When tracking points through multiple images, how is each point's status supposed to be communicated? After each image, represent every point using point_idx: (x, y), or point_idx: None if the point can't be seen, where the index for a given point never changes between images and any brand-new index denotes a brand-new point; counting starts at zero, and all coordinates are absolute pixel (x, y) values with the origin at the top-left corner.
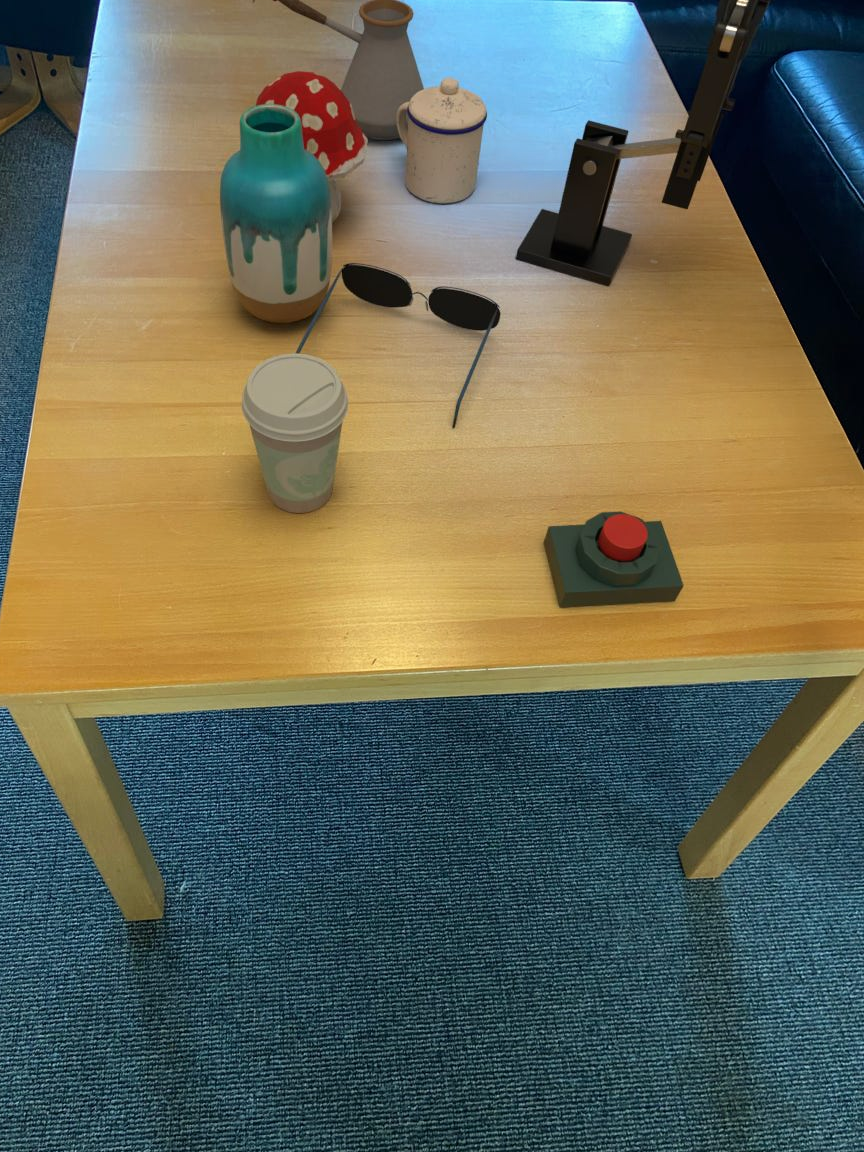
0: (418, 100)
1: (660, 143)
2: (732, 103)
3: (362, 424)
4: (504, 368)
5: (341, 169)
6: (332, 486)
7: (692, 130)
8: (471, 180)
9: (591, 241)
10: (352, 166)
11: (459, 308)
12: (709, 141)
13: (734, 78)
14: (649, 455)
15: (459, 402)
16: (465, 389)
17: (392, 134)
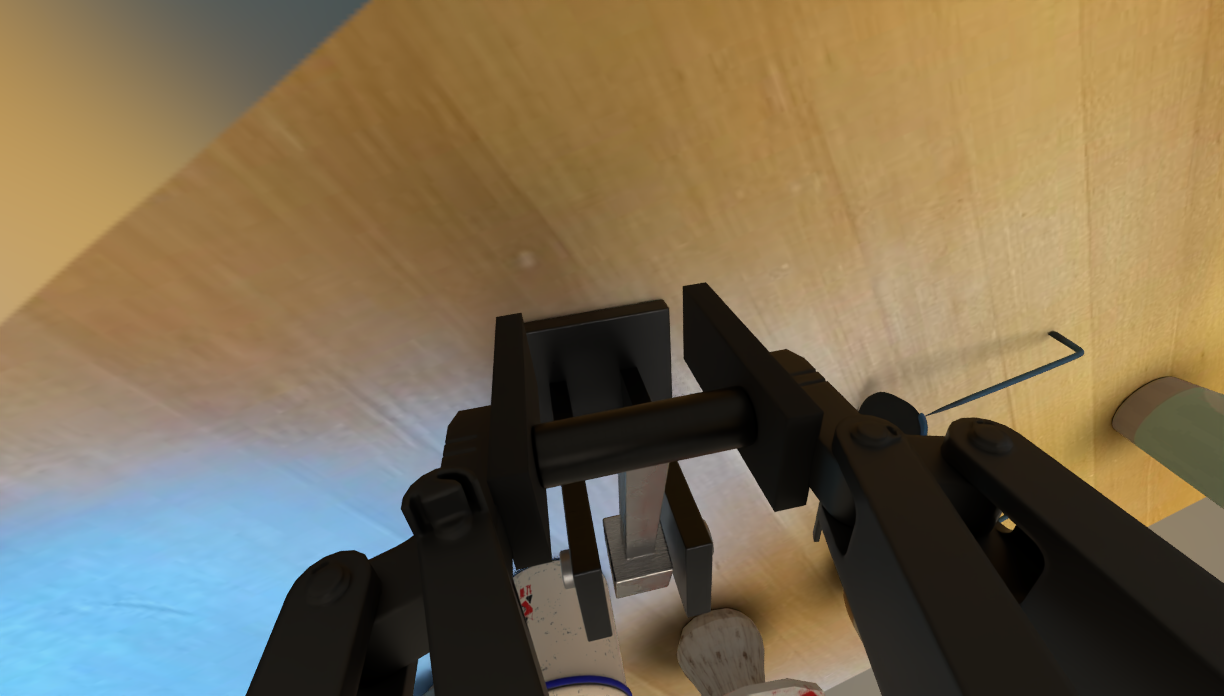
0: None
1: (655, 505)
2: (438, 499)
3: (1049, 411)
4: (927, 337)
5: (797, 692)
6: (1174, 385)
7: (994, 525)
8: (561, 584)
9: (646, 389)
10: (778, 690)
11: None
12: (1004, 434)
13: (433, 661)
14: (1116, 27)
15: (1083, 352)
16: (1066, 359)
17: None
